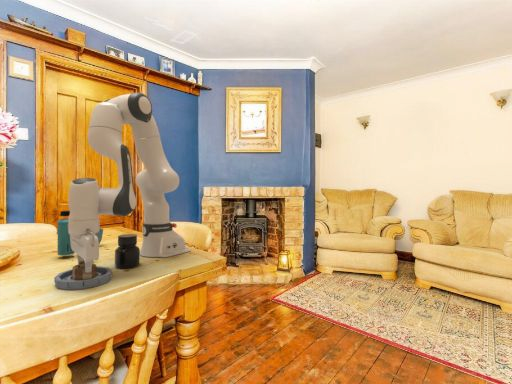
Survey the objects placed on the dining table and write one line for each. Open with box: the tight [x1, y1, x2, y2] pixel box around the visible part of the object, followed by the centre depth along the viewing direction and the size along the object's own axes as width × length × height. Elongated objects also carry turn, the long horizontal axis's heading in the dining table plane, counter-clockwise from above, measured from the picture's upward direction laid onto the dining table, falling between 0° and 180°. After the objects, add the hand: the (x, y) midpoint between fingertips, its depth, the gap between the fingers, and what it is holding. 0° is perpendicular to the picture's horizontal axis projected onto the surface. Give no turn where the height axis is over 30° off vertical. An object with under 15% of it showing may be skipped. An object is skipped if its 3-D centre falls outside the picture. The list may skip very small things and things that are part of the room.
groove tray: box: [54, 265, 113, 291], centre depth 97 cm, size 16×16×3 cm
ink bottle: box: [114, 233, 141, 270], centre depth 115 cm, size 10×9×12 cm
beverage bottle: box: [56, 210, 76, 257], centre depth 125 cm, size 6×7×20 cm
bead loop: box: [72, 262, 97, 280], centre depth 97 cm, size 6×6×4 cm
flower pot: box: [95, 227, 104, 244], centre depth 145 cm, size 9×9×9 cm
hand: (84, 268), depth 97 cm, fingers open, 7 cm apart
